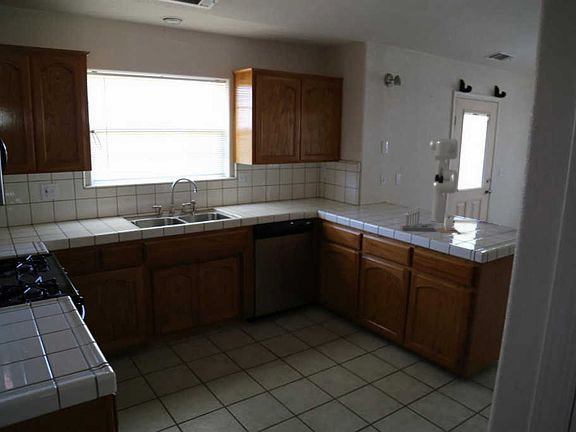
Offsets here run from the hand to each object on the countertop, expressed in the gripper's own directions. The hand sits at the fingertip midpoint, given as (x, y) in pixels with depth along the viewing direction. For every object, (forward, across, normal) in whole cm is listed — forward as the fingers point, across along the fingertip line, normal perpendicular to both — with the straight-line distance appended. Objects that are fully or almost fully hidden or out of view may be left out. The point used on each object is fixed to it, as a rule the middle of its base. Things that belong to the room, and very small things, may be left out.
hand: (438, 182), depth 315 cm
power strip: (+33, +13, -16) cm, 39 cm away
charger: (+32, +13, +5) cm, 35 cm away
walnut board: (+33, +13, +5) cm, 36 cm away
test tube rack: (+34, -2, -16) cm, 37 cm away
